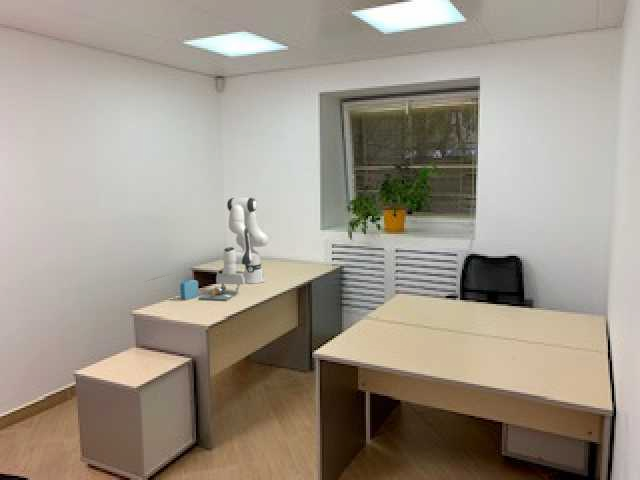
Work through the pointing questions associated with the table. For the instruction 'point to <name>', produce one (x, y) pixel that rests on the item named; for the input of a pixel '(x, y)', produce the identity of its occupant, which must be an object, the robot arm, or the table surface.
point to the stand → (218, 296)
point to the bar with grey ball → (218, 291)
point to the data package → (189, 289)
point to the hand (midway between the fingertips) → (230, 290)
